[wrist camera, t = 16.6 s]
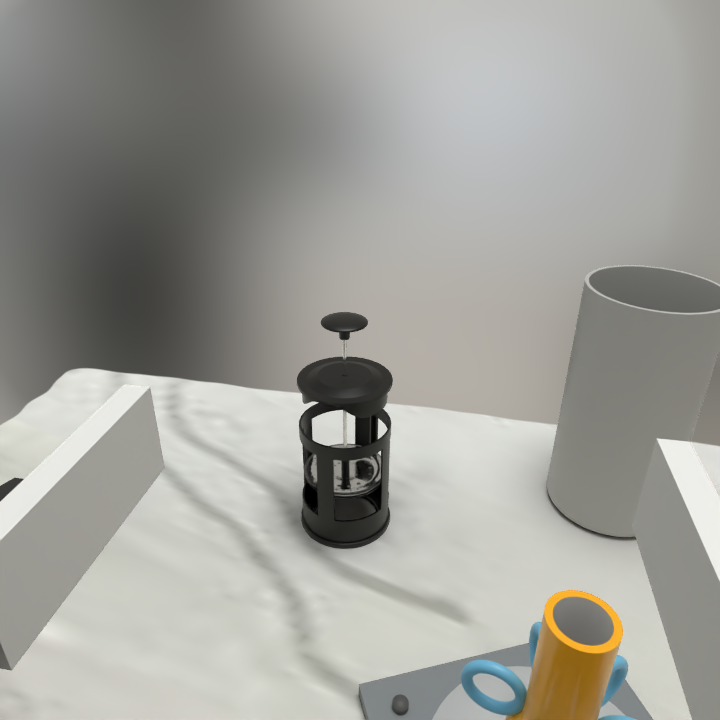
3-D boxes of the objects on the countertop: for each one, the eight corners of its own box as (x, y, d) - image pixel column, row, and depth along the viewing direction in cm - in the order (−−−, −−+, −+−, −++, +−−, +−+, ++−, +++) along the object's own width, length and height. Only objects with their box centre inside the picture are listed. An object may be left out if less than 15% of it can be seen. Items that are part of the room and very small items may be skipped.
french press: (365, 565, 58) (368, 352, 48) (281, 535, 62) (266, 331, 51) (408, 492, 68) (418, 301, 57) (333, 470, 71) (329, 286, 60)
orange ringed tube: (548, 669, 46) (582, 520, 39) (672, 798, 38) (742, 640, 31) (419, 756, 40) (432, 600, 34) (534, 929, 33) (582, 770, 26)
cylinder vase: (686, 504, 66) (757, 290, 55) (629, 560, 59) (696, 327, 47) (584, 452, 75) (626, 257, 63) (523, 495, 67) (558, 284, 56)
